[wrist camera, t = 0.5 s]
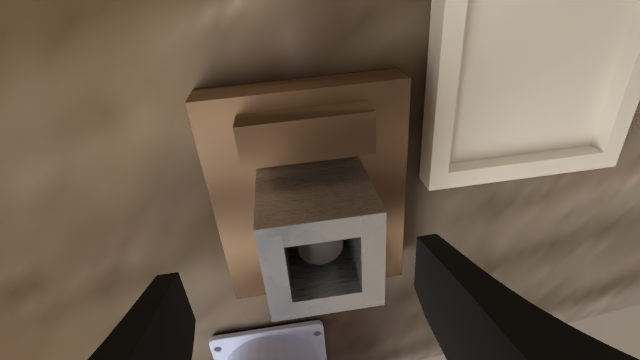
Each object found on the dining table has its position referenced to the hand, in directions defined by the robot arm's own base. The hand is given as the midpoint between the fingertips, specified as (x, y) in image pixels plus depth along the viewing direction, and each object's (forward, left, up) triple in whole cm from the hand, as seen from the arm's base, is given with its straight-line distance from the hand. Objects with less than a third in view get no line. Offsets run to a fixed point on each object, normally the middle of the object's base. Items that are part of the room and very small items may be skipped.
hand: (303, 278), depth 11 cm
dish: (+3, -13, -10) cm, 16 cm away
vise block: (-2, -1, -10) cm, 10 cm away
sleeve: (-2, -1, -8) cm, 8 cm away
